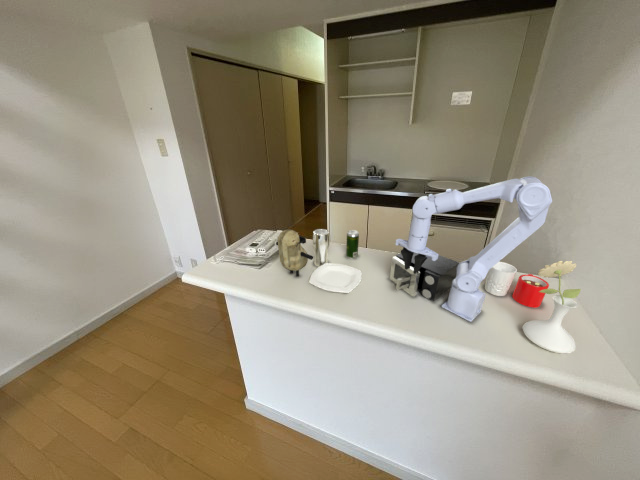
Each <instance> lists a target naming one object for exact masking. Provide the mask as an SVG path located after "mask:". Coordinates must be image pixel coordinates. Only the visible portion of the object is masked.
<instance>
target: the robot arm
mask: <svg viewBox="0 0 640 480" xmlns="http://www.w3.org/2000/svg"><path fill="white" fill-rule="evenodd" d="M495 199H500V200H502V201H506V202H507V203H511V204H512V203H513V202H514V199H515V201H516V203H517V209H518V217H517V218H515V219H514V221H512V222H511V223H510V224H509V225H508V226H507V227H506V228H505V229H504V230H502V231H501V232H500V233H499V234H498V235H497V236H496V237H495V238H494V239H492V240H491V241H490V242H489V243H488V244H487V245H486V246H485V247H483V249H481V251H479V252H478V253H477V254H476V255H472V256H470V257H469V258H468V259H465V260H463V261H461V262H459V264H458V265H457V274H456V278H455V279H454V280H453V281H452V285H451V288H450V289H449V293H448V298H447V300H446V301H445V302H444V303H443V304H441V308H442V309H445V310H446V311H448V312H451V313H452V314H454V315H456V316H458V317H459V318H462V319H464V320H465V321H468V322H470V323H471V322H473V321H474V320H475V318H477V317H478V316H479V315H480V313H481V312H482V309H483V306H484V302H485V299H486V293H485V292H483V291H482V290H480V288H479V287H480V285H481V283H482V282H483V281H484V280H486V278H487V273H488V271H489V269H491V268H492V267H493V266H494V265H495V264H497V263H498V262H501V260H503V259H504V258H505V257H507V256H508V255H509V254H510V253H512V251H514V250H515V249H516V248H517V247H518V246H519V245H521V244H522V243H523V242H525V241H526V240H527V239H528V238H529V237H531V236H532V235H533V234H534V233H535V232H536V231H538V230H539V229H540V228H541V227H542V226H543V225H544V224H545V222H546V219H547V216H548V212H549V210H550V209H549V208H550V206H551V204H552V203H553V198H552V194H551V190H550V188H549V187H548V186H547V185H545V184H544V183H543V182H542V181H541V180H540V179H539V178H537V177H535V176H523V177H520V178H511V179H508V180H504V181H499V182H496V183H492V184H489V185H485V186H481V187H477V188H474V189H470V190H466V191H463V192H462V191H460V190H458V189H452V188H447V189H446V190H445V191H444V192H440V193H436V194H433V193H429V194H428V196H427V195H422V196H420V197H418V198H417V199H416V201H415V202H414V204H413V205H412V216H411V217H412V218H411V220H410V226H409V231H408V232H409V233H408V238H407V240H406V239H402V238H397V239H395V244H394V245H395V246H400V247H402V249H401V250H400V253H401V254H402V256H403V259H404V264H405V269H406V270H407V269H409V268H410V266H411V261H412V257H413V254H414V252H415V253H419V254H418V255H416V256H415V257H414V259H415V266H414V270H413V273H414V274H416V273H417V272H419V269H420V267H421V266H422V264H423V263H424V262H425V260H426V259H427V258H431V259H432V260H433V261H436V260H437V259H438V256H439V255H440V254H439V253H438V252H436V251H434V250H433V249H431V248H429V247H428V246H427V243H428V239H429V234H430V229H431V224H432V222H431V220H432V215H438V214H443V213H447V212H448V213H449V212H453V211H458V210H460V209H461V208H463V206H464V205H466V204H471V203H477V202H482V201H490V200H495Z"/></svg>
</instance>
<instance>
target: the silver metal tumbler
mask: <svg viewBox="0 0 640 480" xmlns="http://www.w3.org/2000/svg"><path fill="white" fill-rule="evenodd" d="M312 247H313V252H314V263H313V264H314V265H315V266H316V267H317V268H318V267H320V266H321V265H323V264H325V263H329V260H328V253H329V249H330V248H329V247H330V231H329V230H328V229H325V228H317V229H314V230H313V231H312Z"/></svg>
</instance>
